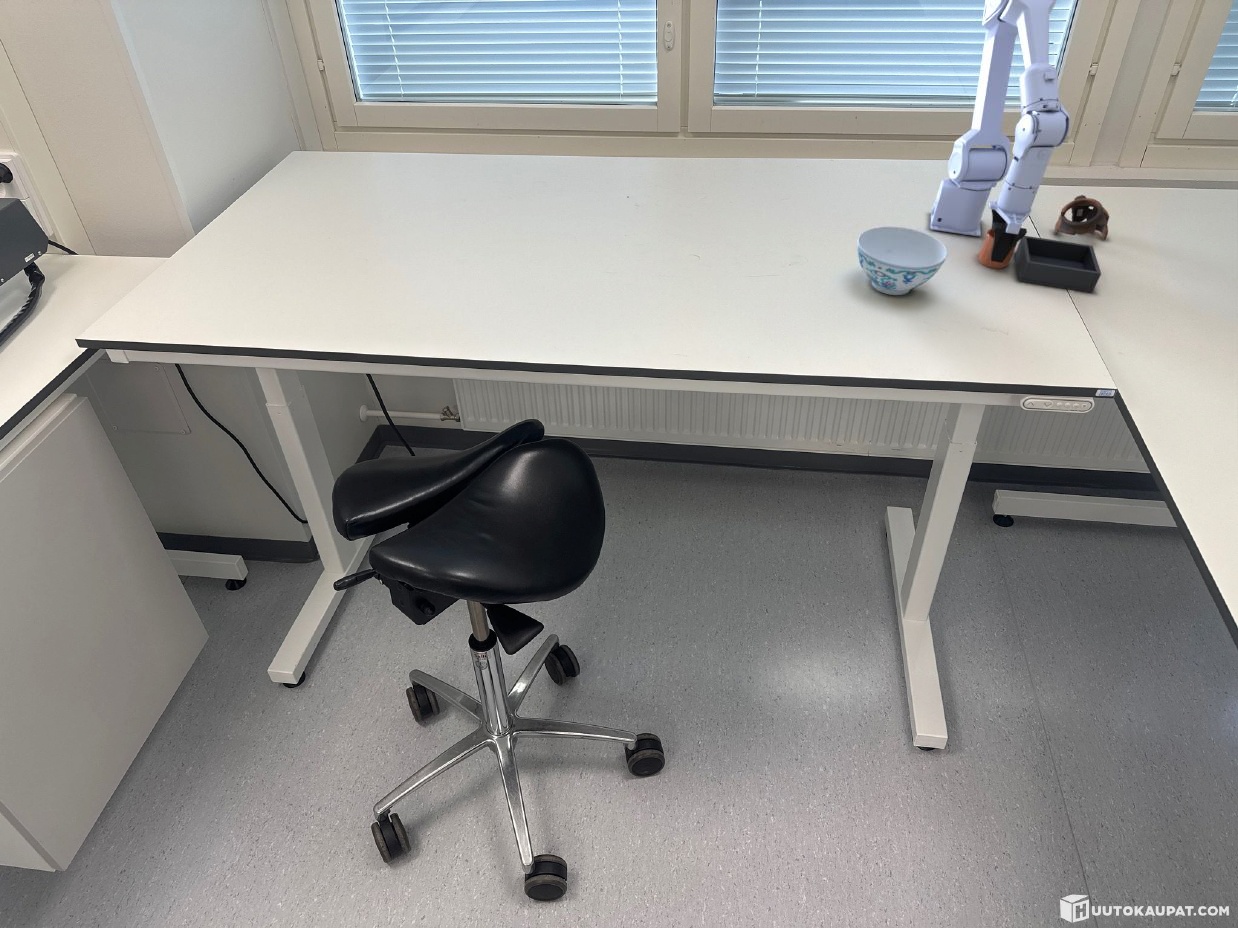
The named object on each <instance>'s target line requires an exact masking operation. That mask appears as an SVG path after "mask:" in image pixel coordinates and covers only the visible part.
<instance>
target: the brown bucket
mask: <svg viewBox="0 0 1238 928" xmlns="http://www.w3.org/2000/svg"><path fill="white" fill-rule="evenodd" d="M985 233H986V234H985V236H984V239H983V241H982V245H981V247H980V250H979V253H978V255H977V256H978V258H977V259H978V261H979V263H980V264H981V265H983V266H985V267H988V268H990V269H1004V268H1006V267H1007V266H1008V265H1009V264H1010V263H1011V260H1012V258H1013V254H1014V252H1015V251H1016V250H1015V249H1016V248H1017V244H1018V242H1017V243H1016V244H1015V246H1014V247H1013V248H1012V250H1011V251H1010V253H1009V254H1008V256H1007V257H1006V259H1005V260H1004V261H1003V262H1002V263H1000V262H994V261H991V252H992V247H993V242H994V228H993V229H992V228H990V229H988V230H986V232H985Z"/></svg>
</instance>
